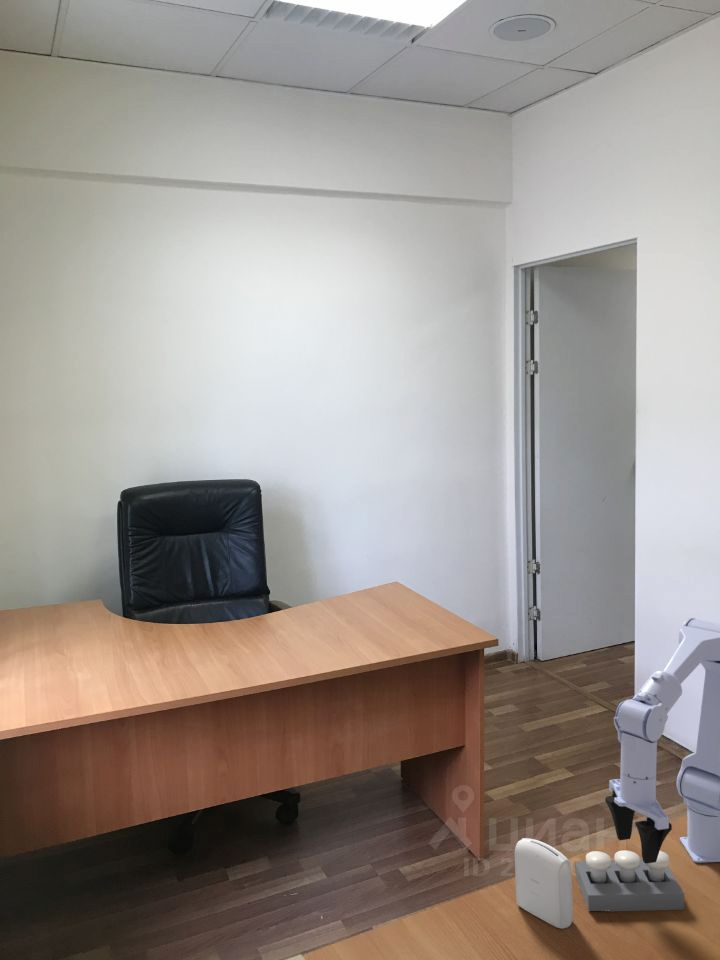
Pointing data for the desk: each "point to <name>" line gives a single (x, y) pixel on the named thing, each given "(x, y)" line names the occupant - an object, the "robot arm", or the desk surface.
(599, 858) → the knob
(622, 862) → the knob middle
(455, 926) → the desk surface
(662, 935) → the desk surface
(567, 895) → the photo printer
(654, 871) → the knob
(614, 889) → the mount
